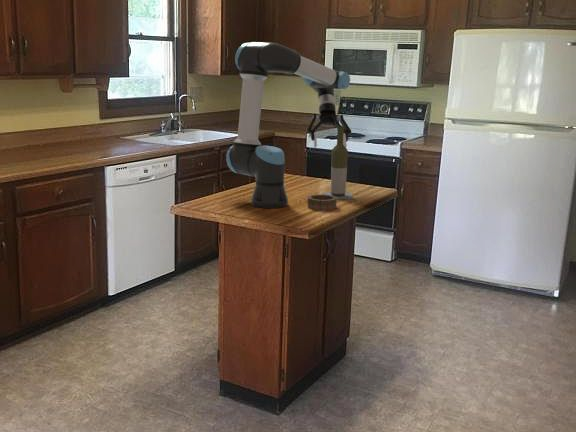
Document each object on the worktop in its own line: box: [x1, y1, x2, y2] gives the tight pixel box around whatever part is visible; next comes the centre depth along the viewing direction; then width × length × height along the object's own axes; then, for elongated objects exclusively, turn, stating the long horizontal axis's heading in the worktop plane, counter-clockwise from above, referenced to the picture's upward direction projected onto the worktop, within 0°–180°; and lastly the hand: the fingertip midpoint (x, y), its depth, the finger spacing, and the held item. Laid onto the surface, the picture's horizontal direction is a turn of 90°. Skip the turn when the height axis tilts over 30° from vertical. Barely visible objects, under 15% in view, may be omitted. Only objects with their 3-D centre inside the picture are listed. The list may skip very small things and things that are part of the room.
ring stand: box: [307, 194, 338, 211], centre depth 260 cm, size 11×11×4 cm
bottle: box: [330, 125, 349, 196], centre depth 277 cm, size 7×7×30 cm
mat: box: [322, 191, 355, 201], centre depth 281 cm, size 12×12×1 cm
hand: (330, 147), depth 288 cm, fingers open, 13 cm apart
